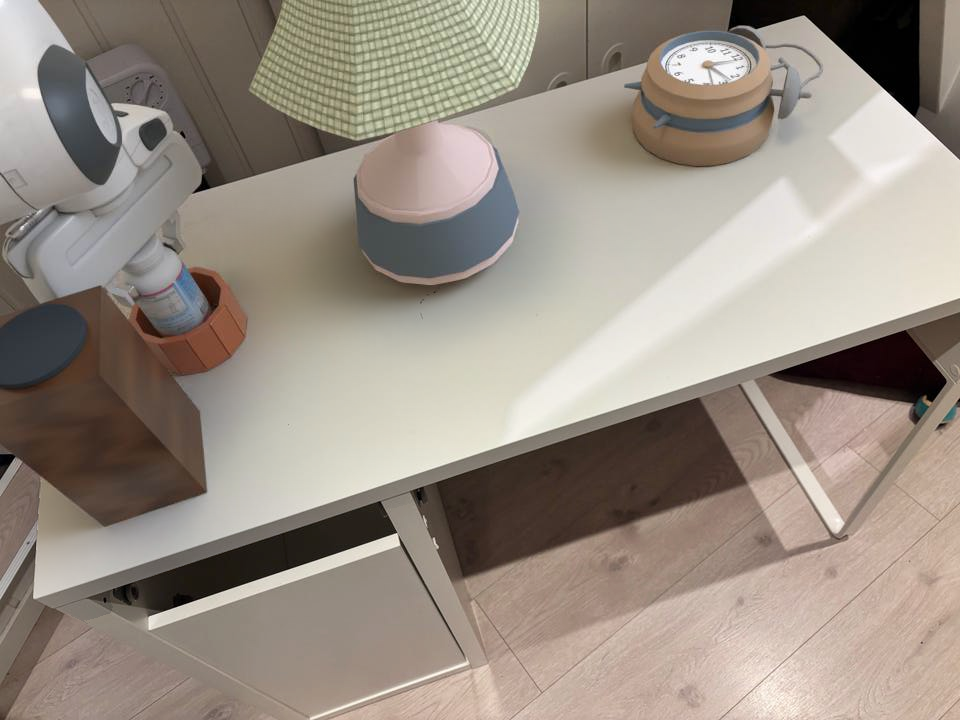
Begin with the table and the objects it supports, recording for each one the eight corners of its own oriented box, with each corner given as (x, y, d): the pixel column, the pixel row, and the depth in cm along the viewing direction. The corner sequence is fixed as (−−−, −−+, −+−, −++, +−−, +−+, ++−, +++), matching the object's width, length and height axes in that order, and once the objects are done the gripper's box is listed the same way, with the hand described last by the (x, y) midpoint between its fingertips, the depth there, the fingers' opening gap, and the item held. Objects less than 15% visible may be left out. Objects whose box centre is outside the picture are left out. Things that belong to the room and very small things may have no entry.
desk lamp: (305, 210, 94) (148, -170, 61) (512, 141, 97) (469, -256, 64) (353, 356, 79) (178, -46, 46) (597, 268, 82) (597, -167, 49)
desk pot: (210, 384, 79) (187, 353, 75) (135, 360, 83) (109, 329, 78) (264, 312, 84) (246, 279, 80) (191, 291, 88) (170, 259, 84)
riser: (104, 527, 70) (-35, 417, 55) (105, 441, 76) (-20, 321, 61) (207, 492, 71) (99, 374, 56) (200, 410, 77) (100, 284, 62)
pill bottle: (181, 294, 83) (131, 219, 75) (223, 307, 81) (178, 231, 73) (146, 334, 80) (90, 260, 71) (190, 348, 78) (138, 274, 69)
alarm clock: (612, 40, 92) (786, -7, 93) (611, 105, 99) (772, 60, 101) (670, 116, 82) (864, 61, 83) (664, 182, 89) (842, 131, 90)
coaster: (-20, 402, 56) (-25, 398, 55) (-9, 326, 60) (-14, 321, 60) (86, 369, 56) (82, 364, 56) (88, 296, 61) (84, 291, 61)
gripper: (19, 253, 58) (111, 360, 69) (178, 102, 69) (236, 215, 79) (-36, 237, 60) (62, 344, 71) (127, 93, 71) (190, 205, 81)
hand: (155, 275), depth 75 cm, fingers closed on pill bottle, 6 cm apart
